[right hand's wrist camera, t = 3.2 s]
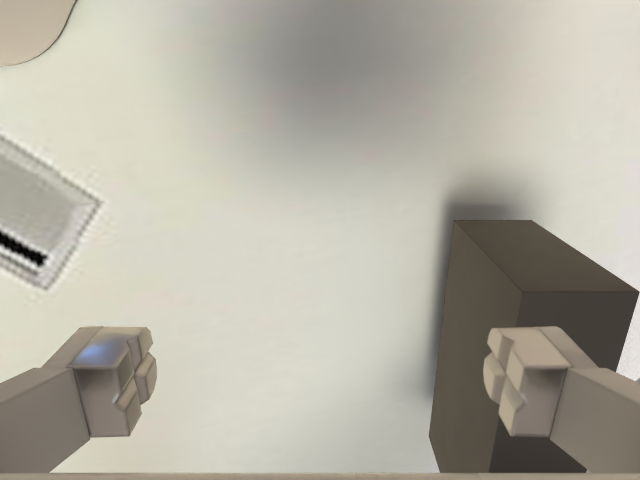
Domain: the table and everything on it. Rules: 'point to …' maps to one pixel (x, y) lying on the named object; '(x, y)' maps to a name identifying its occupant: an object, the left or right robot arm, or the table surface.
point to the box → (512, 312)
